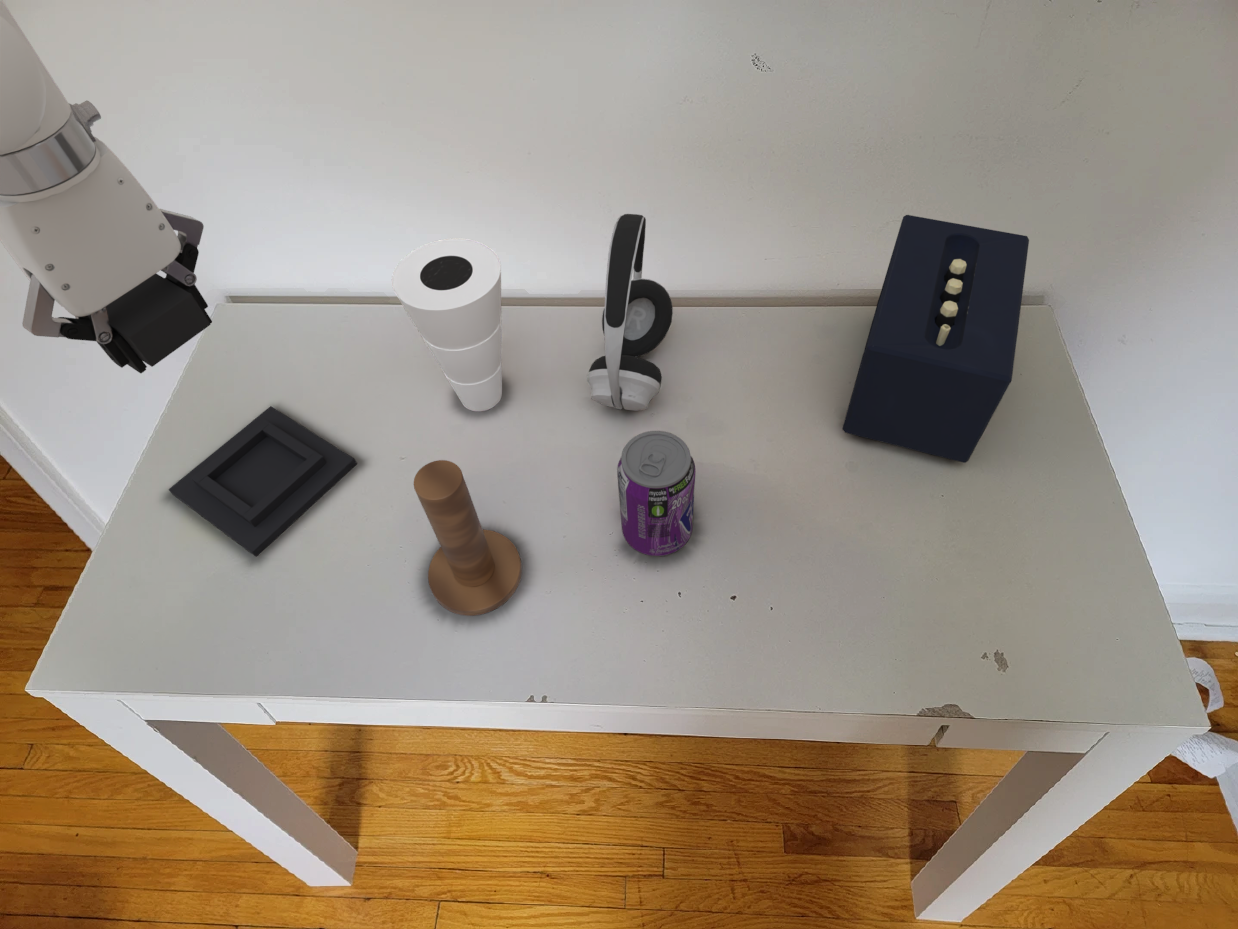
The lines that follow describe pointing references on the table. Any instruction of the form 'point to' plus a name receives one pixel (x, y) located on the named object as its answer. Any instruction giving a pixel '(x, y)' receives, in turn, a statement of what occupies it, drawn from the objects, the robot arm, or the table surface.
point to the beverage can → (656, 492)
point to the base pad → (263, 479)
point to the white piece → (457, 313)
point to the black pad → (156, 318)
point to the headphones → (629, 323)
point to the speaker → (940, 338)
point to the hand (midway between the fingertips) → (166, 340)
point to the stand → (464, 546)
